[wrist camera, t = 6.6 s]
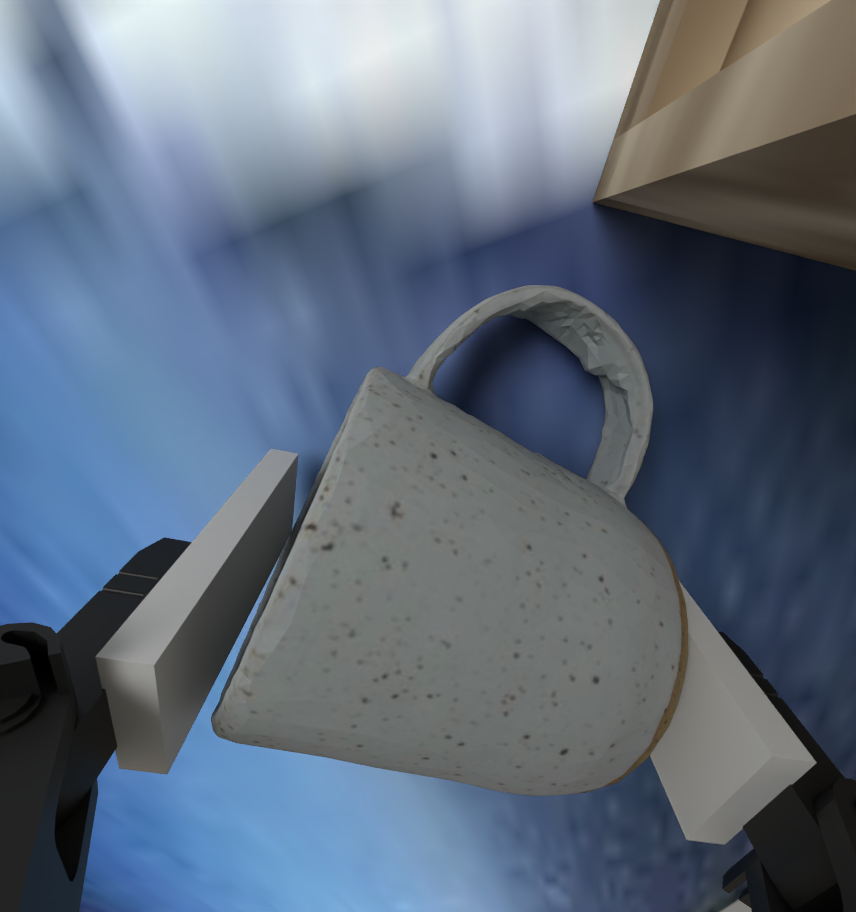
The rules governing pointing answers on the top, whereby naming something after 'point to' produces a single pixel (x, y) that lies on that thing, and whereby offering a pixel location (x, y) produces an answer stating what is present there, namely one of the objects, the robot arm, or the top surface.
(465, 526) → the ceramic mug
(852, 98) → the holder
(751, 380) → the top surface
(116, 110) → the top surface
